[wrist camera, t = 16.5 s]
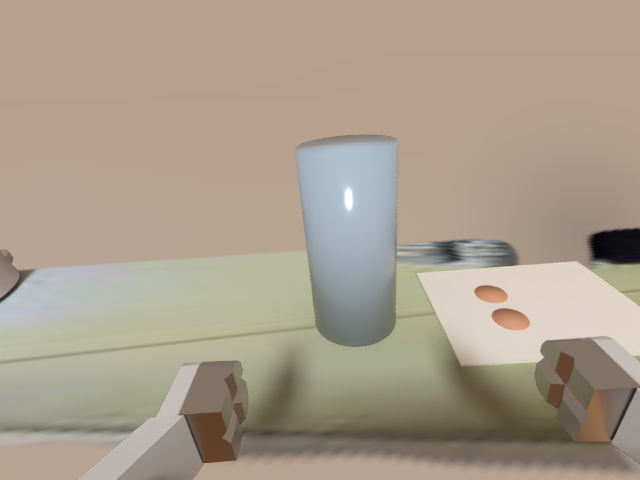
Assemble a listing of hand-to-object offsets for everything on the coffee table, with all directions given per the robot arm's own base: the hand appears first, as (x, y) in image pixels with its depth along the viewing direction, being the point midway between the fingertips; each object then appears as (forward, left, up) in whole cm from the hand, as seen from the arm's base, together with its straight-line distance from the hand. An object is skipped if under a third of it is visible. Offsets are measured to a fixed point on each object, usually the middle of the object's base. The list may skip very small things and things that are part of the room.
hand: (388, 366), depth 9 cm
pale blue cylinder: (0, +12, -8) cm, 15 cm away
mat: (+12, +12, -9) cm, 19 cm away
